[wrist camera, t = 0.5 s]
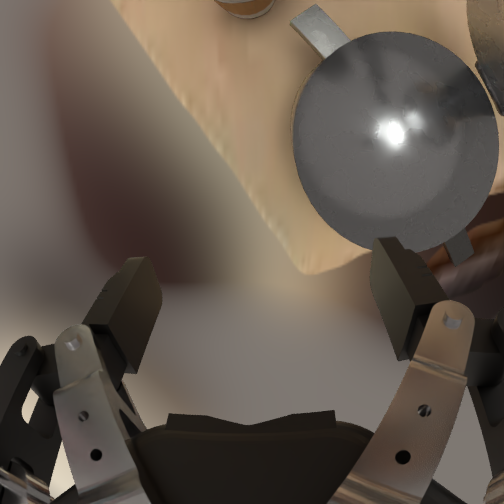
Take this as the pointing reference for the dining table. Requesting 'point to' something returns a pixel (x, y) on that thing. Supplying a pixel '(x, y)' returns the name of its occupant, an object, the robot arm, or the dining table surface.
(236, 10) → the coffee cup
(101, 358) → the robot arm
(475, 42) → the lid
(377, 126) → the cooking pot
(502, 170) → the dining table surface
